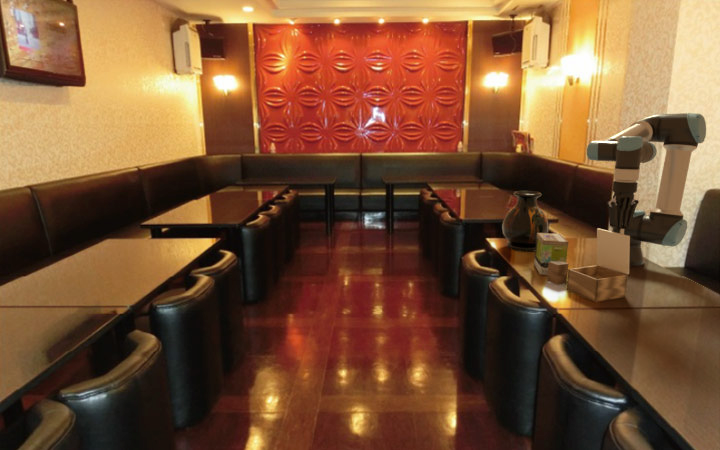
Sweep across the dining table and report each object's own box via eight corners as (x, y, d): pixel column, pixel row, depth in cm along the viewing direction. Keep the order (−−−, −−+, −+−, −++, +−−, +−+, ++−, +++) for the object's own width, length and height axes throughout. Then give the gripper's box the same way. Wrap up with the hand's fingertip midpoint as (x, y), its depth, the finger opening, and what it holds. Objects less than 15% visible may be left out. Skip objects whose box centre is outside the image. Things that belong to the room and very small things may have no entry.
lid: (597, 264, 172) (598, 263, 172) (627, 274, 160) (629, 273, 160) (597, 228, 168) (598, 228, 169) (628, 236, 156) (629, 235, 157)
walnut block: (557, 279, 181) (558, 260, 179) (566, 283, 176) (568, 263, 174) (547, 281, 179) (548, 261, 177) (556, 285, 174) (558, 265, 173)
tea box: (565, 276, 184) (569, 241, 181) (539, 275, 186) (542, 240, 183) (557, 265, 198) (560, 232, 195) (533, 264, 200) (536, 231, 197)
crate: (595, 285, 174) (597, 265, 172) (625, 296, 162) (627, 275, 160) (566, 289, 169) (568, 269, 167) (595, 302, 157) (597, 280, 155)
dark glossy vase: (541, 256, 213) (546, 197, 207) (495, 249, 224) (498, 193, 218) (550, 246, 230) (555, 191, 224) (507, 240, 242) (511, 188, 236)
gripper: (629, 179, 165) (621, 242, 170) (602, 180, 161) (595, 245, 166) (648, 181, 159) (639, 247, 163) (621, 182, 154) (612, 250, 159)
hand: (617, 246), depth 165 cm, fingers closed
